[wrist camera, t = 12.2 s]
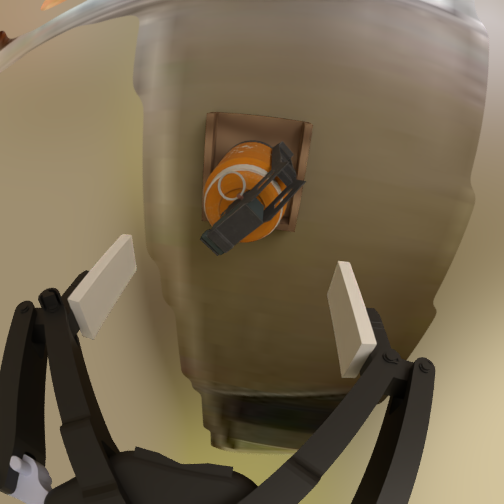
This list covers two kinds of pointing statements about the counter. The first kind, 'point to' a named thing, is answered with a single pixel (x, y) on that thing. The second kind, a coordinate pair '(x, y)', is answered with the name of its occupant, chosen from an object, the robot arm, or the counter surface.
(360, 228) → the counter surface
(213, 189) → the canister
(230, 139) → the cradle
